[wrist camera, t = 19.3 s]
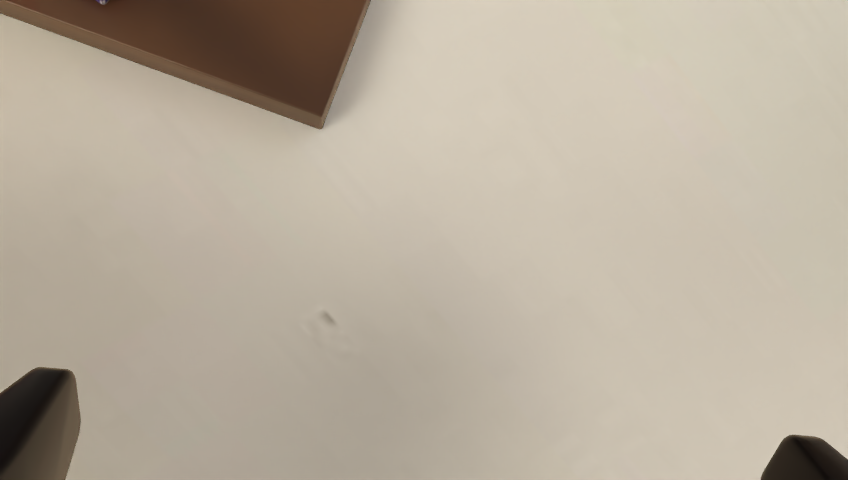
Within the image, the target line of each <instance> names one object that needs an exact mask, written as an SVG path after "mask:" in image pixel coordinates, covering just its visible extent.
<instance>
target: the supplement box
mask: <svg viewBox="0 0 848 480" xmlns="http://www.w3.org/2000/svg"><path fill="white" fill-rule="evenodd" d="M96 1H97V2H99V3H100V4H102V5H105V4H106V3H107V2H108V1H109V0H96Z"/></svg>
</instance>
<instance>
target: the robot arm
mask: <svg viewBox="0 0 848 480" xmlns="http://www.w3.org/2000/svg"><path fill="white" fill-rule="evenodd" d="M80 422H81V418H80V409H79V401H78V393H77V385H76V379H75V375H74V374H73V372H72V371H70V370H68V369H58V368H47V367H38V368H35V369H33V370H31V371H29V372H28V373H27V374H25V375H24V376H23V377H21V378H20V379H19V380H17V381H16V382H14V383H13V384H12V385H10V386H9V387H8V388H6V389H5V390H4V391H2V392H1V393H0V480H65V479H66V476H67V472H68V469H69V466H70V463H71V459H72V456H73V453H74V449H75V446H76V443H77V440H78V436H79V431H80ZM761 480H848V460H847V459H846V458H845V457H844V456H843V455H841V454H840V453H839V452H838V451H837V450H835V449H834V448H833V447H832V446H830V445H829V444H828V443H827V442H825V441H824V440H823V439H821V438H818V437H813V436H802V435H789V436H787V437H786V438H784V439H783V441H782V442H781V444H780V445H779V447H778V448H777V450H776V452H775V453H774V455H773V457H772V458H771V460H770V462H769V463H768V465H767V467H766V468H765V470H764V472H763V474H762V477H761Z"/></svg>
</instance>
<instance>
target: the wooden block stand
mask: <svg viewBox="0 0 848 480" xmlns="http://www.w3.org/2000/svg"><path fill="white" fill-rule="evenodd" d="M370 1H371V0H109V1H108V2H107V3H106V4H105V5H102V4H100V3H99V2H97V1H96V0H0V13H2V14H4V15H7V16H10V17H13V18H15V19H18V20H21V21H24V22H26V23H29V24H32V25H35V26H37V27H40V28H43V29H46V30H48V31H51V32H54V33H57V34H59V35H62V36H65V37H68V38H70V39H73V40H76V41H79V42H81V43H84V44H87V45H90V46H92V47H95V48H98V49H101V50H103V51H106V52H109V53H112V54H114V55H117V56H120V57H123V58H125V59H128V60H131V61H134V62H136V63H139V64H142V65H145V66H147V67H150V68H153V69H156V70H158V71H161V72H164V73H167V74H169V75H172V76H175V77H178V78H180V79H183V80H186V81H189V82H191V83H194V84H197V85H200V86H202V87H205V88H208V89H211V90H213V91H216V92H219V93H222V94H224V95H227V96H230V97H233V98H235V99H238V100H241V101H244V102H246V103H249V104H252V105H255V106H257V107H260V108H263V109H266V110H268V111H271V112H274V113H277V114H279V115H282V116H285V117H288V118H290V119H293V120H296V121H299V122H301V123H304V124H307V125H310V126H312V127H315V128H318V129H322V127H323V124H324V121H325V119H326V116H327V114H328V111H329V108H330V106H331V103H332V101H333V98H334V95H335V93H336V90H337V87H338V85H339V82H340V80H341V77H342V74H343V72H344V69H345V66H346V64H347V61H348V59H349V56H350V53H351V51H352V48H353V46H354V43H355V40H356V38H357V35H358V32H359V30H360V27H361V25H362V22H363V19H364V17H365V14H366V12H367V9H368V6H369V4H370Z"/></svg>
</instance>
